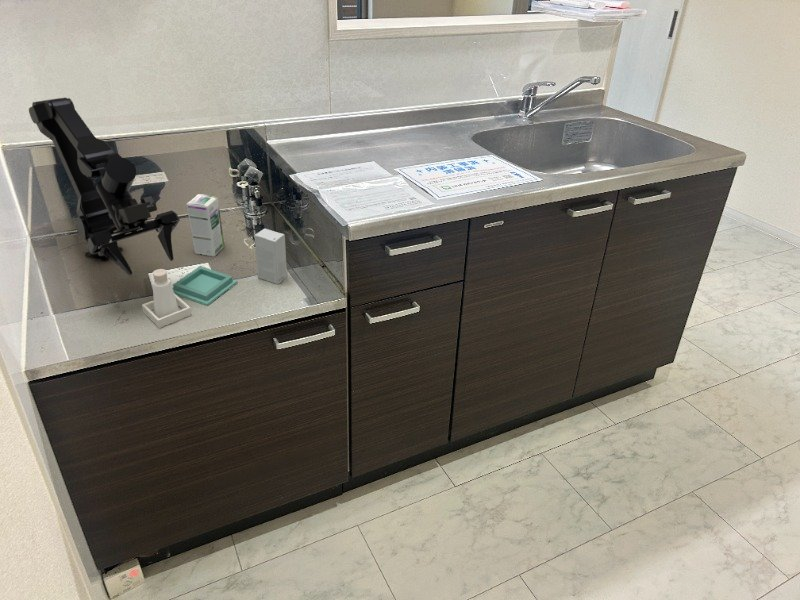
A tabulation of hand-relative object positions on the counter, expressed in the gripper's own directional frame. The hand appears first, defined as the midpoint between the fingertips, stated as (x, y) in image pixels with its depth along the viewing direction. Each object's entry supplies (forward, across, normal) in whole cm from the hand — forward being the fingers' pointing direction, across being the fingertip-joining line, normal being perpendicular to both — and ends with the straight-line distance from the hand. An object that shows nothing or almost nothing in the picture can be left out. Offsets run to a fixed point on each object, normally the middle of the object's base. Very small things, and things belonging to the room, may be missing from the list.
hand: (152, 267), depth 130 cm
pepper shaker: (+10, 0, +5) cm, 11 cm away
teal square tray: (+7, +11, +8) cm, 15 cm away
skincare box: (+11, +26, +4) cm, 29 cm away
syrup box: (-3, +21, +18) cm, 28 cm away
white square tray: (+10, 0, +5) cm, 11 cm away
